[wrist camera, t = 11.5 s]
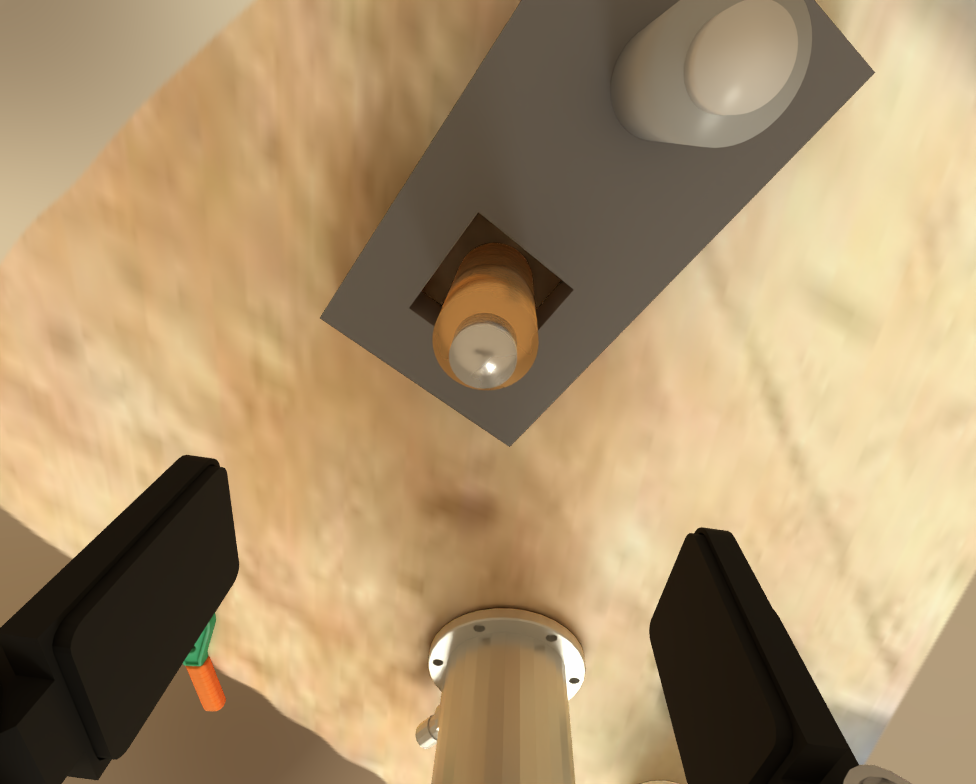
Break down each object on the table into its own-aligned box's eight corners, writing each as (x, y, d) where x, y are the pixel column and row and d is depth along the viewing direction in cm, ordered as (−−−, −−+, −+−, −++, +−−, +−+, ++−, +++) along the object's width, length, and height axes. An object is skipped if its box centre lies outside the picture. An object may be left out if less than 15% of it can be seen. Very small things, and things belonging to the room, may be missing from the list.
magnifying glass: (131, 574, 40) (115, 592, 38) (205, 576, 39) (192, 594, 38) (189, 691, 47) (178, 710, 45) (252, 693, 46) (243, 712, 45)
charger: (510, 418, 30) (506, 556, 21) (338, 299, 27) (240, 395, 18) (831, 79, 22) (1087, 41, 12) (629, -153, 19) (750, -457, 9)
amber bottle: (501, 331, 28) (493, 426, 19) (442, 287, 27) (404, 366, 18) (548, 275, 26) (563, 350, 17) (487, 226, 25) (471, 279, 16)
